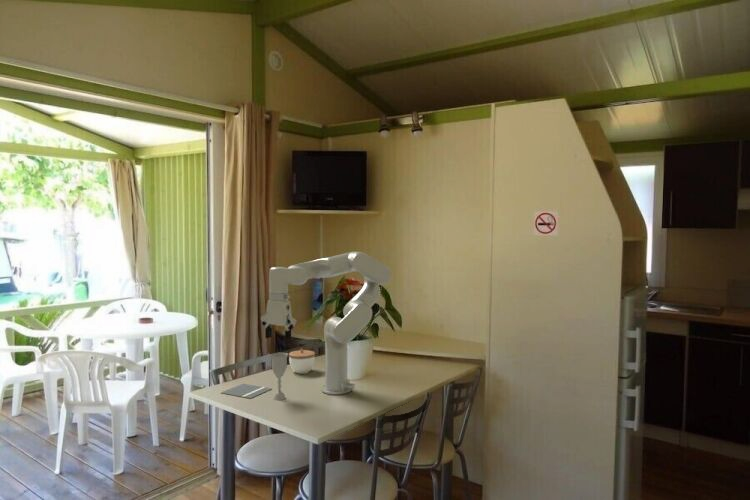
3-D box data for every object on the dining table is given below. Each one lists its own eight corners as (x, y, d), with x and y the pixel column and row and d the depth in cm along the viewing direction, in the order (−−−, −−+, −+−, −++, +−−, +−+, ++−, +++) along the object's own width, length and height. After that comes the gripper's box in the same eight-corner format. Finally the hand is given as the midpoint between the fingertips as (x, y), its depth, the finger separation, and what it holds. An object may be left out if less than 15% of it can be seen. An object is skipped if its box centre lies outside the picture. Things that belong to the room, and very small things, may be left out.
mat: (271, 389, 218) (271, 388, 218) (250, 398, 206) (250, 397, 206) (242, 384, 225) (242, 383, 225) (220, 393, 213) (220, 392, 213)
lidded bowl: (307, 376, 238) (307, 353, 238) (284, 373, 242) (284, 351, 242) (319, 369, 250) (319, 347, 249) (297, 367, 254) (296, 345, 254)
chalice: (272, 401, 202) (272, 357, 201) (268, 396, 208) (268, 353, 208) (290, 399, 205) (290, 355, 204) (286, 394, 211) (286, 351, 211)
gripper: (301, 297, 205) (301, 339, 205) (267, 295, 212) (266, 335, 213) (290, 299, 198) (290, 342, 199) (255, 296, 206) (255, 338, 206)
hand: (278, 338), depth 206 cm, fingers open, 9 cm apart
